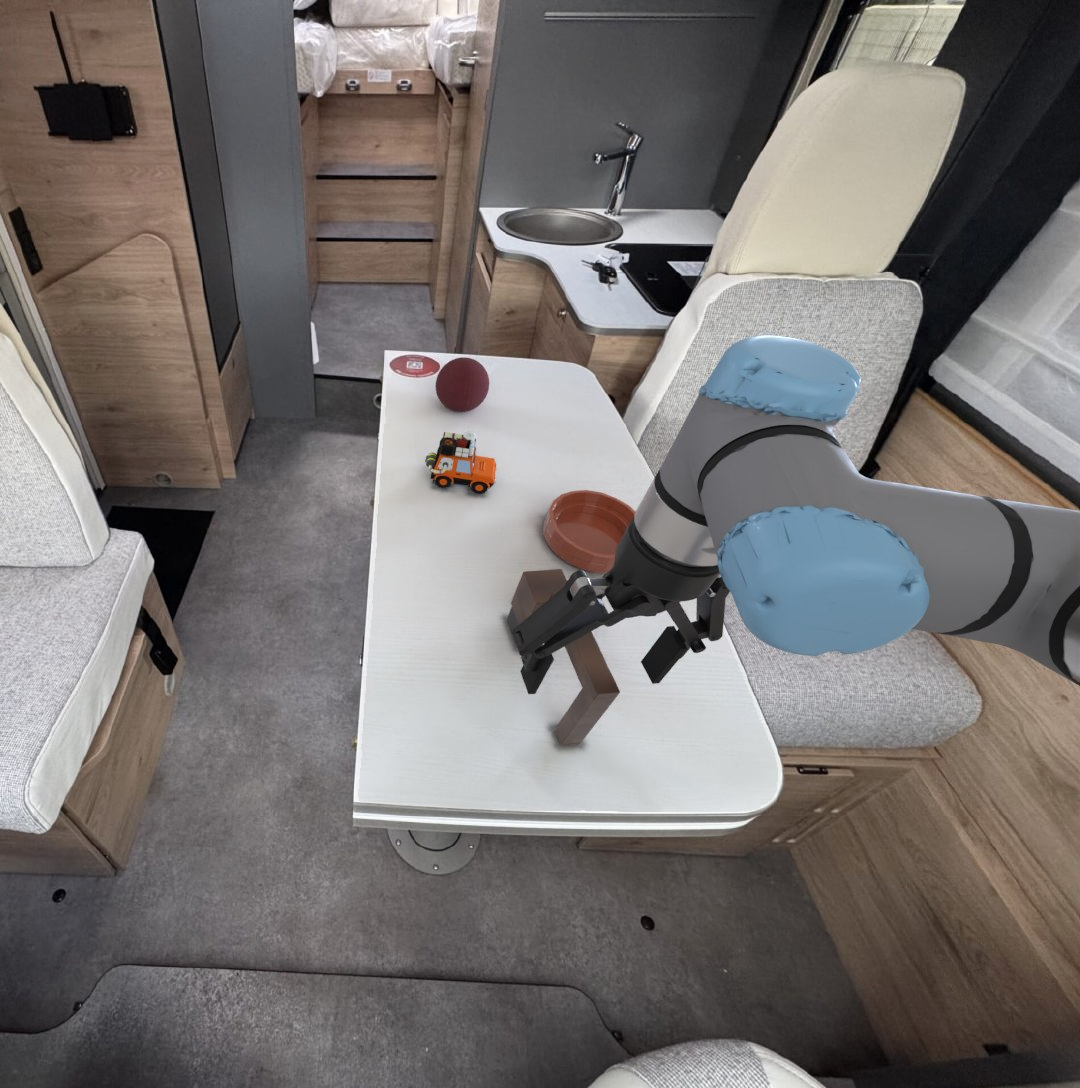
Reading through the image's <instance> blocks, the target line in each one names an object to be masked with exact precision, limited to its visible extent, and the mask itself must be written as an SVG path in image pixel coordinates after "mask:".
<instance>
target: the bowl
mask: <svg viewBox="0 0 1080 1088" xmlns="http://www.w3.org/2000/svg"><path fill="white" fill-rule="evenodd" d="M635 512H636V510H635V509H633V507H632V506H630V505H629V504H627V503H626V502H624V501H622V500H621V499H619V498H617V497H615V496H612V495H610V494H607V493H603V492H601V491H595V490H588V489H583V490H579V489H578V490H570V491H568V492H565V493H561V494H560V495H558V496H557V497H556V498H555V499H553V501H552V503H551V505H550V506H549V509H548V511H547V514H546V516H545V519H544V521H543V523H542V535H543V537H544V539H545V542H546V543H547V546H548V547H549V548H550V549H551V550H552V552H553V553H555V555H556V556H558V557H559V558H560V559H561V560H563V561H565V562H566V563H568V565H571V566H574V567H576V568H579V569H580V570H583V571H587V572H591V573H598V574H606V573H607V572H608V571H610V570H611V569H612V568H613V566H614V560H615V553H616V548H617V546H618V544H619V542H620V540H621V538H622V536H623V534H624V533H625V531H626V529H627V527H628V525H629V523H630V522H631V520H632V519H633V518H634V514H635Z"/></svg>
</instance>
